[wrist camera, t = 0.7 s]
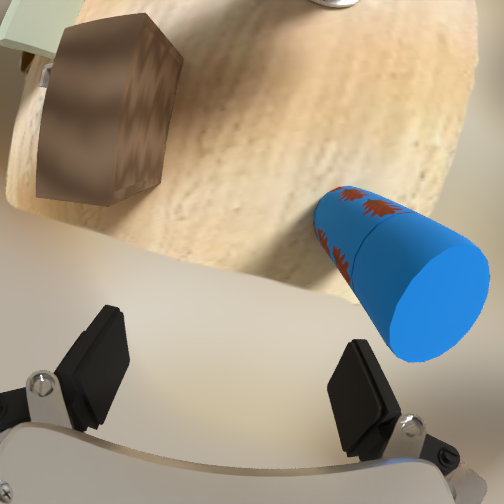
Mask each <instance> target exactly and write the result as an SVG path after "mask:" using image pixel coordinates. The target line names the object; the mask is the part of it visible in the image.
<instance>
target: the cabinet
mask: <svg viewBox="0 0 504 504" xmlns="http://www.w3.org/2000/svg"><path fill="white" fill-rule="evenodd" d="M182 63H183V58H182V56H181V55H180V54H179V53H178V51H177V50H176V49H175V48H174V46H173V45H172V44H171V43H170V41H169V40H168V39H167V38H166V36H165V35H164V34H163V33H162V32H161V30H160V29H159V28H158V27H157V26H156V24H155V23H154V22H153V21H152V20H151V18H150V17H149V16H148V15H147V14H146V13H138V14H130V15H123V16H116V17H110V18H105V19H100V20H95V21H90V22H86V23H82V24H78V25H74V26H71V27H67V28H65V29H64V32H63V34H62V37H61V40H60V43H59V46H58V49H57V52H56V56H55V59H54V62H53V63H49V64H45V65H44V67H43V71H42V75H41V79H40V83H39V87H45V88H47V91H46V95H45V100H44V106H43V112H42V118H41V125H40V133H39V142H38V153H37V170H36V197H38V198H46V199H54V200H62V201H70V202H77V203H85V204H92V205H100V206H107V207H109V206H111V205H113V204H115V203H117V202H119V201H121V200H123V199H126V198H128V197H130V196H132V195H134V194H137V193H139V192H141V191H143V190H146V189H148V188H150V187H152V186H155V185H157V184H159V183H161V176H162V168H163V161H164V154H165V147H166V141H167V135H168V129H169V123H170V118H171V112H172V107H173V102H174V97H175V93H176V88H177V84H178V79H179V75H180V71H181V67H182Z"/></svg>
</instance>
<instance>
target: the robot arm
mask: <svg viewBox="0 0 504 504" xmlns="http://www.w3.org/2000/svg"><path fill="white" fill-rule="evenodd" d="M311 1H313V2H315V3H318V4H321V5H324V6H329V7H338V8H340V7H349V6H352V5H354V4H356V3H358V2H359V1H360V0H311ZM129 362H130V357H129V351H128V345H127V338H126V331H125V323H124V315H123V313H122V312H120V309H119V308H118V307H114V306H110V305H105V306H104V307H103V308H102V310H101V311H100V312H99V314H98V315H97V316H96V318H95V319H94V320H93V322H92V323H91V324H90V325H89V327H88V328H87V330H86V331H83V332H82V333H81V334H80V336H79V337H78V339H77V340H76V341H75V343H74V344H73V346H72V347H71V348H70V350H69V351H68V353H67V354H66V355H65V357H64V358H63V360H62V361H61V363H60V364H59V366H58V367H57V369H56V370H55V372H54V373H52V372H50V371H46V370H40V371H37V372H34V373H33V374H31V375H30V376H29V378H28V379H27V382H26V387H24V388H20V389H16V390H11V391H7V392H3V393H0V504H481V502H482V500H483V498H484V497H485V495H486V492H487V484H486V482H485V480H484V479H483V478H482V477H480V476H479V475H478V474H477V473H476V472H475V471H473V470H472V469H471V468H470V467H469V466H468V465H467V464H465V463H464V462H462V463H460V455H459V453H458V451H457V450H456V449H455V448H454V447H453V446H451V445H449V444H447V443H445V442H443V441H441V440H438V439H437V438H435V437H432V436H430V435H429V434H427V426H426V423H425V422H424V420H423V419H422V418H421V417H420V416H418V415H416V414H413V413H406V414H403V415H402V414H401V409H400V407H399V404H398V402H397V400H396V398H395V396H394V394H393V391H392V389H391V387H390V385H389V383H388V381H387V379H386V377H385V375H384V373H383V371H382V369H381V367H380V365H379V363H378V361H377V359H376V357H375V355H374V353H373V351H372V349H371V347H370V345H369V343H368V342H367V340H365V339H353V340H352V341H351V342H349V343H348V344H347V346H346V348H345V350H344V353H343V355H342V357H341V359H340V361H339V363H338V365H337V367H336V369H335V371H334V373H333V375H332V377H331V379H330V381H329V383H328V386H327V391H328V395H329V399H330V402H331V406H332V410H333V413H334V418H335V421H336V425H337V429H338V433H339V437H340V441H341V445H342V449H343V451H344V452H346V453H347V457H355V456H359V459H360V461H359V463H353V464H345V465H336V466H327V467H316V468H299V469H253V468H235V467H225V466H216V465H207V464H200V463H194V462H187V461H182V460H176V459H171V458H167V457H162V456H158V455H153V454H149V453H145V452H141V451H137V450H134V449H131V448H128V447H124V446H120V445H117V444H114V443H111V442H108V441H105V440H102V439H99V438H96V437H94V436H91V435H88V434H86V433H85V431H86V430H87V428H88V427H91V428H93V429H96V430H97V429H98V426H99V424H100V425H102V424H103V423H104V421H105V419H106V416H107V414H108V411H109V409H110V406H111V404H112V402H113V400H114V397H115V395H116V393H117V390H118V388H119V386H120V384H121V381H122V379H123V377H124V375H125V372H126V370H127V368H128V366H129Z"/></svg>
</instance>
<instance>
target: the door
mask: <svg viewBox="0 0 504 504" xmlns="http://www.w3.org/2000/svg"><path fill="white" fill-rule="evenodd" d="M84 1H85V0H12V2H11V5H10V6H9V9H8V11H7V13H6V15H5V17H4V19H3V22H2V24H1V26H0V46H5V47H9V48H14V49H18V50H22V51H26V52H29V53H33V54H37V55H40V56H44V57H47V58H50V59H55V56H56V52H57V49H58V46H59V43H60V40H61V37H62V34H63V32H64V29H65V28H67V27H71V26H74V25H75V22H76V20H77V17H78V15H79V13H80V10H81V8H82V6H83V3H84Z"/></svg>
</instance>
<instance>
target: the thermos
mask: <svg viewBox="0 0 504 504" xmlns="http://www.w3.org/2000/svg"><path fill="white" fill-rule="evenodd" d="M313 225H314V228H315V232H316V236H317V238H318V239H319V241H320V243H321V245H322V246H323V248H324V249H325V251H326V252H327V254H328V255H329V256H330V258H331V259H332V261H333V262H334V264H335V265H336V267H337V268H338V270H339V271H340V273H341V274H342V276H343V277H344V279H345V280H346V282H347V283H348V285H349V286H350V288H351V289H352V291H353V292H354V294H355V295H356V297H357V298H358V300H359V301H360V303H361V304H362V306H363V308H364V309H365V311H366V312H367V314H368V316H369V317H370V319H371V320H372V322H373V324H374V325H375V327H376V328H377V330H378V332H379V333H380V335H381V337H382V338H383V340H384V342H385V343H386V345H387V346H388V347H389V348H390V349H391V351H392V352H393V353H394V354H395V355H396V357H398V358H400V359H402V360H404V361H407V362H425V361H427V360H430V359H433V358H435V357H438V356H440V355H441V354H443V353H444V352H446V351H447V350H449V349H450V348H452V347H453V346H454V345H456V344H457V342H458V341H460V340H461V338H462V337H463V336H464V335H465V334H466V333H467V332H468V331H469V330H470V328H471V327H472V325H473V324H474V322H475V321H476V319H477V318H478V316H479V314H480V313H481V310H482V308H483V305H484V303H485V300H486V297H487V294H488V288H489V281H490V274H489V266H488V261H487V259H486V258H485V256H484V255H483V253H482V252H481V250H480V249H479V248H478V247H477V246H476V245H474V244H473V243H472V242H471V241H470V240H468V239H467V238H465V237H464V236H462V235H460V234H458V233H456V232H454V231H453V230H451V229H449V228H447V227H445V226H443V225H441V224H439V223H437V222H435V221H433V220H431V219H429V218H427V217H425V216H423V215H421V214H419V213H417V212H415V211H413V210H411V209H409V208H406V207H404V206H402V205H400V204H398V203H395V202H393V201H391V200H389V199H386V198H384V197H382V196H379V195H377V194H375V193H372V192H369V191H366V190H363V189H360V188H356V187H352V186H345V187H338V188H336V189H334V190H332V191H330V192H328V193H327V194H326V195H325V196H324V197H323V198H322V199H321V200H320V201H319V204H318V206H317V208H316V210H315V213H314V224H313Z"/></svg>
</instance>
